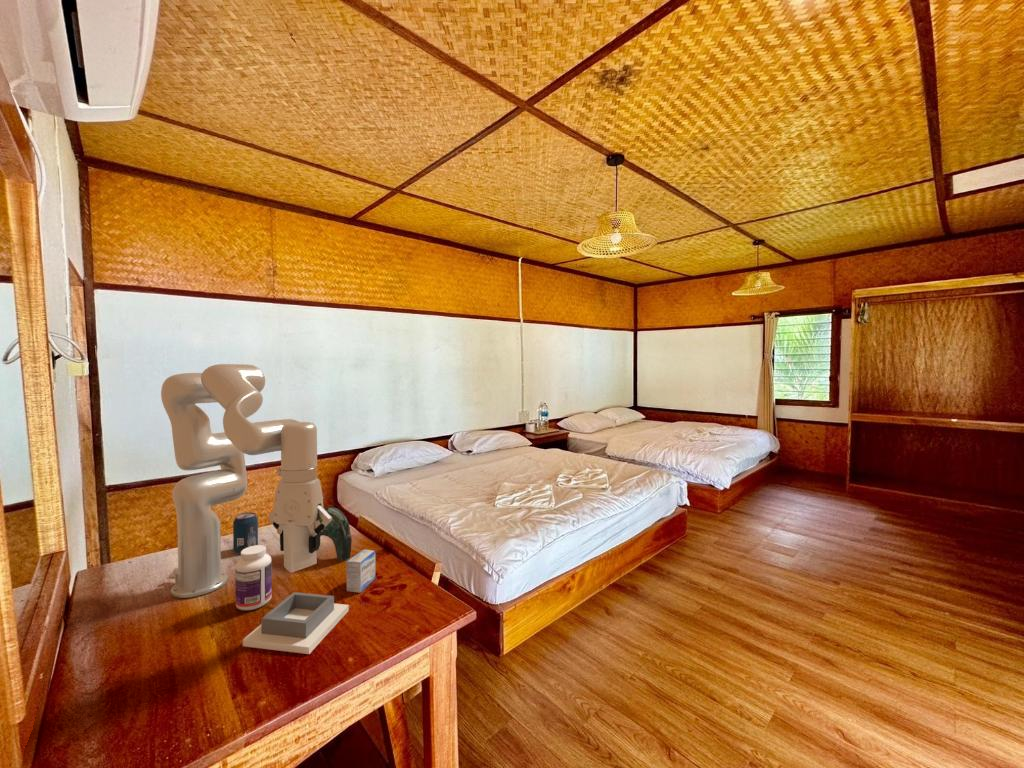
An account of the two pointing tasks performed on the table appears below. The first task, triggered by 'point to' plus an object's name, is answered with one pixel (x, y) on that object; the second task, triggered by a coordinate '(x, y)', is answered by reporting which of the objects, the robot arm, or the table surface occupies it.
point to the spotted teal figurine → (338, 533)
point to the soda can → (245, 531)
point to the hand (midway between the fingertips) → (300, 549)
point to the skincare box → (297, 547)
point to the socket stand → (297, 623)
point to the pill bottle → (253, 578)
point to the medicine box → (360, 571)
